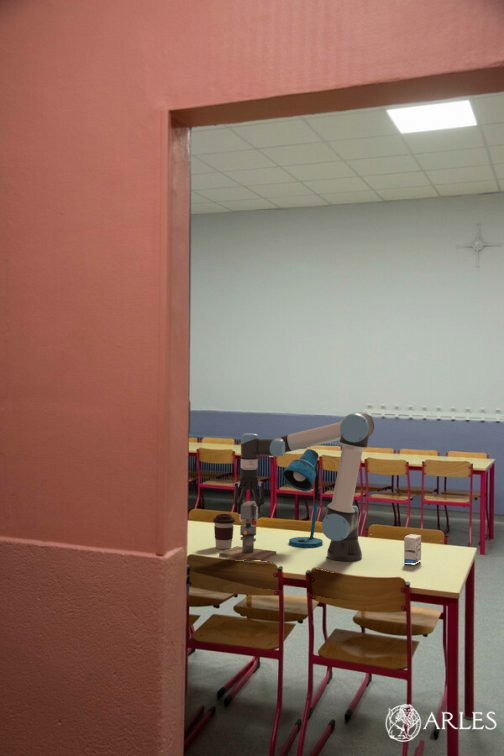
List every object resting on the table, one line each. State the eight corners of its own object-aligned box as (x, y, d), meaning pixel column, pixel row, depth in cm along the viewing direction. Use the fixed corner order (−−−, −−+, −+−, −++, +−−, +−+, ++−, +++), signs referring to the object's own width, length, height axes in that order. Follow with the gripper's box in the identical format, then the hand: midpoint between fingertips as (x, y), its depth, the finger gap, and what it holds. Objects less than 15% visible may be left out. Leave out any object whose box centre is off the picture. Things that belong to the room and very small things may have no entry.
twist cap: (243, 531, 335) (244, 500, 335) (259, 532, 333) (259, 501, 333) (237, 536, 323) (237, 505, 323) (252, 537, 321) (253, 505, 321)
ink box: (414, 566, 313) (415, 538, 313) (403, 564, 315) (403, 536, 316) (421, 562, 320) (421, 534, 320) (410, 560, 323) (410, 533, 323)
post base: (276, 554, 330) (276, 534, 330) (259, 562, 316) (260, 541, 316) (236, 549, 340) (237, 529, 340) (219, 556, 325) (219, 536, 326)
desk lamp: (275, 545, 348) (276, 449, 349) (303, 538, 365) (304, 447, 365) (302, 551, 338) (304, 452, 338) (330, 543, 355) (331, 449, 355)
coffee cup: (231, 550, 337) (232, 517, 337) (210, 549, 339) (210, 516, 339) (236, 545, 347) (236, 513, 347) (215, 544, 349) (216, 512, 349)
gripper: (230, 470, 322) (229, 523, 322) (272, 469, 327) (271, 521, 327) (225, 468, 329) (225, 520, 329) (267, 467, 334) (266, 518, 334)
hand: (248, 520), depth 328 cm, fingers closed on twist cap, 6 cm apart
